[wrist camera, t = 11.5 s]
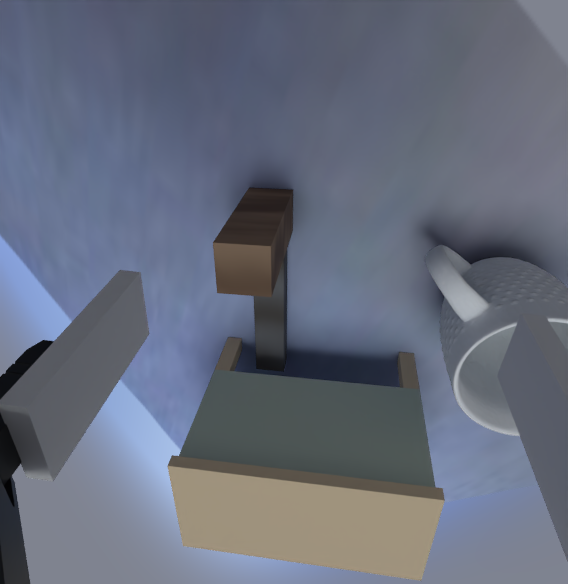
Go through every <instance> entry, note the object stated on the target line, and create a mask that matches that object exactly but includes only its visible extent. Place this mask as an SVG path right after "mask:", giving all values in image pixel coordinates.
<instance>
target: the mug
mask: <svg viewBox="0 0 568 584" xmlns="http://www.w3.org/2000/svg"><path fill="white" fill-rule="evenodd" d="M425 263H426V266H427V268H428V270H429V272H430V274H431V276H432V278H433V279H434V281H435V283H436V284H437V286H438V287H439V289H440V290H441V292H442V293H443V295H444V296H445V297H444V300H443V303H442V310H441V313H440V316H441V318H440V333H441V343H442V351H443V354H444V361H445V363H446V367H447V372H448V374H449V378H450V381H451V385H452V389H453V392H454V395H455V398H456V400H457V402H458V404H459V406H460V407H461V409H462V410H463V411H464V412H465V413H466V415H467V416H469V417H470V418H471V419H472V420H474V421H475V422H477V423H478V424H480V425H482V426H484V427H486V428H488V429H490V430H493V431H496V432H499V433H503V434H507V435H514V436H520V435H519V432H518V429H517V427H516V424H515V422H514V419H513V416H512V414H511V411H510V408H509V406H508V403H507V400H506V398H505V395H504V393H503V390H502V387H501V385H500V382H499V379H498V377H497V375H498V372H499V370H500V367H501V364H502V362H503V359H504V356H505V354H506V351H507V349H508V346H509V343H510V341H511V338H512V335H513V333H514V330H515V328H516V325H517V322H518V320H519V317H520V314H521V313H525V314H534V315H544V316H546V318H547V319H548V321H549V323H550V324H551V326H552V328H553V329H554V331H555V333H556V334H557V336H558V337H559V339H560V341H561V342H562V344H563V346H564V347H565V349H566V350H567V352H568V288H567V287H566V286H565V285H564V284H563V283H562V282H560V281H558V280H557V279H556V278H555V276H553V275H550V274H549V273H548V272H547V271H546V270H543V269H540V268H539V267H538V266H536V265H533V264H531V263H529V262H525V261H522V260H520V259H514V258H510V257H508V258H506V257H494V258H487V259H483V260H480V261H477V262H475V263H473V264H471V265H470V264H469V263H468V262H467V261H466V260H464V259H463V258H462V257H461V256H460V255H459V254H457V253H456V252H454V251H453V250H451V249H450V248H448V247H447V246H444V245H439V246H436V247H434V248H433V249H431V250H430V251H429V252H428V253H427V255H426V257H425Z"/></svg>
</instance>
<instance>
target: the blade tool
mask: <svg viewBox="0 0 568 584" xmlns="http://www.w3.org/2000/svg"><path fill="white" fill-rule="evenodd" d="M292 231H293V190H288V189H267V188H249V189H248V190H247V192H246V193H245V195H244V196H243V198H242V199H241V201H240V202H239V204H238V205H237V207H236V208H235V210H234V212H233V213H232V215H231V216H230V218H229V219H228V221H227V222H226V224H225V225H224V227H223V228H222V230H221V231H220V233H219V234H218V236H217V237H216V239H215V240H214V242H213V248H214V260H215V272H216V284H217V293H224V294H237V295H251V296H254V314H255V341H256V368H257V369H263V370H273V371H284V369H285V364H286V344H287V247H288V244H289V241H290V237H291V234H292Z"/></svg>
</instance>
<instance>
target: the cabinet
mask: <svg viewBox="0 0 568 584" xmlns="http://www.w3.org/2000/svg"><path fill="white" fill-rule="evenodd" d="M241 351H242V338H233V337H228V339H227V341H226V344H225V346H224V349H223V351H222V353H221V356H220V358H219V361H218V363H217V365H216V368H215V370H214V373H213V375H212V378H211V380H210V382H209V385H208V387H207V390H206V392H205V394H204V397H203V399H202V402H201V404H200V406H199V409H198V411H197V414H196V416H195V419H194V421H193V423H192V426H191V428H190V431H189V433H188V435H187V438H186V440H185V443H184V445H183V447H182V450H181V452H180V455H179V456H172V457H171V459H170V461H169V464H168V470H169V476H170V481H171V486H172V491H173V496H174V501H175V506H176V512H177V517H178V522H179V527H180V532H181V537H182V542H183V546H187V547H195V548H201V549H208V550H215V551H222V552H229V553H236V554H243V555H249V556H256V557H263V558H270V559H276V560H284V561H290V562H297V563H304V564H311V565H318V566H325V567H331V568H338V569H345V570H352V571H359V572H366V573H373V574H379V575H386V576H393V577H400V578H407V579H414V580H422V576H423V573H424V569H425V566H426V562H427V559H428V556H429V552H430V549H431V545H432V542H433V539H434V535H435V531H436V528H437V525H438V521H439V518H440V514H441V511H442V508H443V504H444V501H445V500H444V494H443V489H442V488H436V487H435V482H434V476H433V470H432V464H431V457H430V451H429V445H428V439H427V433H426V426H425V420H424V414H423V408H422V402H421V395H420V389H419V383H418V377H417V371H416V364H415V358H414V353H403V352H399V356H398V362H397V365H398V374H399V383H400V387H390V386H379V385H369V384H359V383H348V382H338V381H328V380H318V379H307V378H297V377H287V376H276V375H266V374H256V373H245V372H235V368H236V365H237V362H238V359H239V357H240V354H241Z"/></svg>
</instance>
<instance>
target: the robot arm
mask: <svg viewBox="0 0 568 584" xmlns="http://www.w3.org/2000/svg"><path fill="white" fill-rule="evenodd" d="M148 335H149V328H148V321H147V315H146V308H145V301H144V294H143V287H142V280H141V273H140V272H133V271H123V270H120V271H119V272H118V273H117V274H116V275H115V276H114V277H113V278H112V279H111V280H110V281H109V283H108V284H107V285H106V286H105V287H104V288H103V289H102V290H101V291H100V292H99V293H98V294H97V296H96V297H95V298H94V299H93V300H92V301H91V302H90V303H89V304H88V305H87V306H86V307H85V309H84V310H83V311H82V312H81V313H80V314H79V315H78V316H77V317H76V318H75V319H74V320H73V322H72V323H71V324H70V325H69V326H68V327H67V328H66V329H65V330H64V331H63V333H61V335H60V336H59V337H58V338H57V339H56V340H55V341H47V340H43V341H41V342H39V343H37V344H36V345H34V346H32V347H31V348H29V349H27V350H26V351H25V352H24V353H23V354H22V355H21V356H20V357H19V358H18V359H17V360H16V361H15V364H12V365H11V366H10V367H9V368H8V369H7V370H6V373H5V374H2V376H1V377H0V584H30V579H29V572H28V566H27V560H26V553H25V547H24V540H23V534H22V527H21V521H20V515H19V508H18V502H17V495H16V488H15V482H14V480H13V478H12V474H13V473H14V472H15V470H16V469H17V468H18V466H19V465H20V464H21V465H22V467H23V470H24V472H25V475H26V477H28V478H35V479H41V480H47V481H54V480H55V478H56V476H57V475H58V473H59V472H60V470H61V469H62V467H63V466H64V464H65V463H66V461H67V460H68V458H69V456H70V455H71V453H72V452H73V450H74V449H75V447H76V446H77V444H78V442H79V441H80V440H81V438H82V437H83V435H84V433H85V432H86V430H87V429H88V427H89V425H90V424H91V423H92V421H93V420H94V418H95V417H96V415H97V413H98V412H99V410H100V409H101V407H102V406H103V404H104V403H105V401H106V400H107V398H108V396H109V395H110V393H111V392H112V390H113V389H114V387H115V386H116V384H117V383H118V381H119V380H120V378H121V377H122V375H123V373H124V372H125V370H126V369H127V367H128V366H129V364H130V363H131V361H132V360H133V358H134V357H135V355H136V353H137V352H138V350H139V349H140V347H141V346H142V344H143V343H144V341H145V340H146V338H147V337H148ZM497 377H498V379H499V382H500V385H501V387H502V390H503V393H504V395H505V398H506V400H507V403H508V406H509V408H510V411H511V414H512V416H513V419H514V422H515V424H516V427H517V429H518V432H519V435H520V437H521V440H522V443H523V445H524V448H525V451H526V453H527V456H528V458H529V461H530V464H531V466H532V469H533V472H534V474H535V477H536V480H537V482H538V485H539V487H540V490H541V493H542V495H543V498H544V501H545V503H546V506H547V509H548V511H549V514H550V516H551V519H552V522H553V524H554V527H555V530H556V532H557V535H558V538H559V540H560V543H561V545H562V548H563V551H564V553H565V556H566V559H567V561H568V352H567V350H566V349H565V347H564V346H563V344H562V342H561V341H560V339H559V337H558V336H557V334H556V333H555V331H554V329H553V328H552V326H551V324H550V323H549V321H548V319H547V318H546V316H544V315H534V314H525V313H521V314H520V317H519V320H518V322H517V325H516V328H515V330H514V333H513V335H512V338H511V341H510V343H509V346H508V349H507V351H506V354H505V356H504V359H503V362H502V364H501V367H500V370H499V372H498V375H497Z"/></svg>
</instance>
